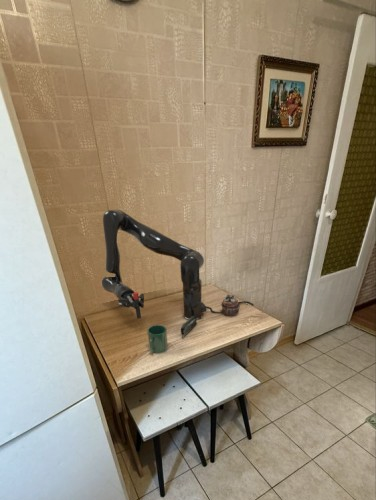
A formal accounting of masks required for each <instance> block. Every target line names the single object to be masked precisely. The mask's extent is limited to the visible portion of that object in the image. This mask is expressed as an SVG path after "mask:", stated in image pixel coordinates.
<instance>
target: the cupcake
mask: <svg viewBox="0 0 376 500" xmlns="http://www.w3.org/2000/svg"><path fill="white" fill-rule="evenodd" d="M238 302H239V300H238V299H237V298H236V297H235V295H230V294H226V295H225V297H224V299H223V300H222V301H221V303H220V305H221V310H222V312H223V314H222V315H223V316H226V317H230V318H232V317H235V316H237V315H238V314H239V311H240V308H241V304H240V303H238Z"/></svg>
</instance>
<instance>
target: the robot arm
mask: <svg viewBox="0 0 376 500" xmlns="http://www.w3.org/2000/svg"><path fill="white" fill-rule="evenodd" d="M102 227H103V234H104V244H105V271H106V272H107V273H110V274H113V275H114V274H115V277H106V276H104V277H103V278H102V279H103V280H102V279H101V281H102V284H101V287H102V288H103V290H104V291H106V292H109V293H111V294H113V295H114V296H116V298H117V299H118V300H117V303H118V306H119V307H123V308H127V309H130V308H133V309H135V310H136V309H137V310H138V305H137V304H136V303H135V301H134V296H133V293H135V292H136V291H134V290H133V289H132V288H130V286H128V285H126V284H125V283H124V282H123V280H122V275H121V270H120V269H121V268H120V267H121V254H120V249H119V245H118V232H119V231H122V232H124V233H127V234H129V235H131V236H133V238H135V239H136V240H137V242H138V243H139V244H140V245H141V246H142V247H144V248H146V249H147V250H150V251H151V252H153V253H155V254H158V255H162V256H167V257H171V258H173V259H174V258H175V259H176V260H178V261H180V265H179V266H180V270H179V271H180V280H181V283H182V300H183V301H182V302H183V306H182V307H183V318H184V319H185V320H186V321H188V320H189V319H190V318H191V317H192V316H196V320H200V319H202V313H206V312H207V309H208V310H209V311H210V312H211V313H213V314H221V315H224V314H223V311H215V310H213V309H212V307H210V306H206V304H205V303H204V302H202V286H203V285H202V283H203V282H202V279H201V278H200V269H202V267H203V265H204V263H205V259H204V256H203V254H202V253H200V252H199V251H197V250H195V249H192V248H191V247H188V246H185V245H183V244H181V243H179V242H178V241H176V240H174V239H172V238H170V237H168V236H167V235H165V234H163V233H162V232H160V231H158V230H156V229H155V228H152V227H150V226H148V225H146V224H144V223H142V222H140V221H138V220H136V219H135V218H133V217H132V216H130V215H129V214H127V212H124V211H123V210H121V209H117V208H116V209H108V210H106V211H105V212H104V213H103V216H102ZM144 295H145V294H144V293H140V294H138V296H139V305H140V309H143V308H144V307H145V304H144V303H145V296H144ZM238 303H239V304H249V305H250V306H255V304H254V303H252V302H250V301H247V300H241V301H238Z"/></svg>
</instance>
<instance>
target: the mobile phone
mask: <svg viewBox="0 0 376 500" xmlns="http://www.w3.org/2000/svg"><path fill="white" fill-rule="evenodd" d="M197 320H198V319H197ZM197 320H196V316H192V317H191V318H190V319H189V320H186V321H184V322H183V324H182V325H181V327H180V334H181V338H182V339H183V338H185V336H186V335H188V334H189V332H191V331H192V329H193V328H195V327H196V325H197Z"/></svg>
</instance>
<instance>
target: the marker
mask: <svg viewBox="0 0 376 500" xmlns="http://www.w3.org/2000/svg"><path fill="white" fill-rule="evenodd" d="M134 292H135V293H133V296H134V301H135V303H136V304H137V305H138V310H137V309H135V315H136V319H137V320H140V319H142V313H141V312H142V311H141V307H140V305H139V299H140V298H139V296H138V295H139V292H138V291H134Z"/></svg>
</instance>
